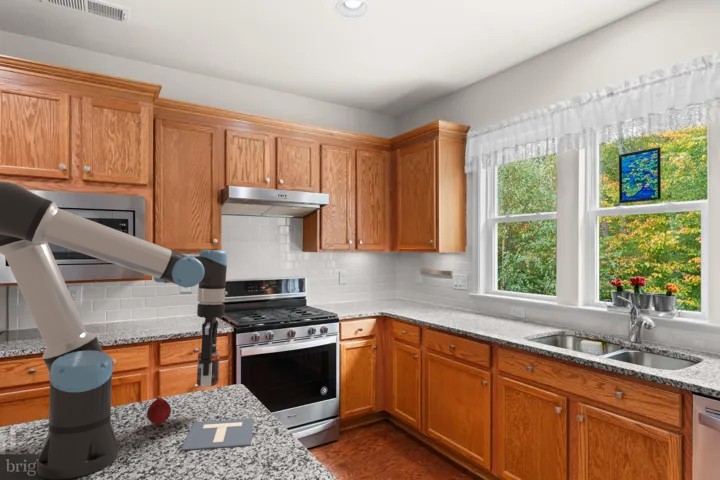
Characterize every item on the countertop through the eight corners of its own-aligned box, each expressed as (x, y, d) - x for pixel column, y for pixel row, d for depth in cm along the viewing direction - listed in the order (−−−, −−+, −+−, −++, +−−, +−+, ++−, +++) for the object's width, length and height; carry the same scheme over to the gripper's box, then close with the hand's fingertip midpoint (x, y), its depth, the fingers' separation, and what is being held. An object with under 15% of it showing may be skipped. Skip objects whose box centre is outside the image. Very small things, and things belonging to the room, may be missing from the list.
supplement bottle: (213, 380, 127) (215, 342, 127) (221, 385, 122) (223, 345, 123) (193, 383, 123) (195, 344, 123) (200, 388, 118) (202, 348, 119)
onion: (174, 422, 117) (175, 392, 117) (162, 430, 111) (163, 400, 111) (154, 420, 118) (155, 391, 118) (142, 429, 112) (142, 399, 112)
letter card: (181, 450, 101) (181, 448, 101) (193, 423, 116) (194, 421, 116) (250, 445, 104) (250, 443, 104) (253, 419, 119) (253, 418, 119)
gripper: (220, 307, 115) (216, 393, 114) (228, 299, 134) (224, 373, 133) (191, 306, 113) (187, 393, 113) (203, 299, 132) (199, 373, 131)
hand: (207, 382), depth 123 cm, fingers closed on supplement bottle, 6 cm apart
